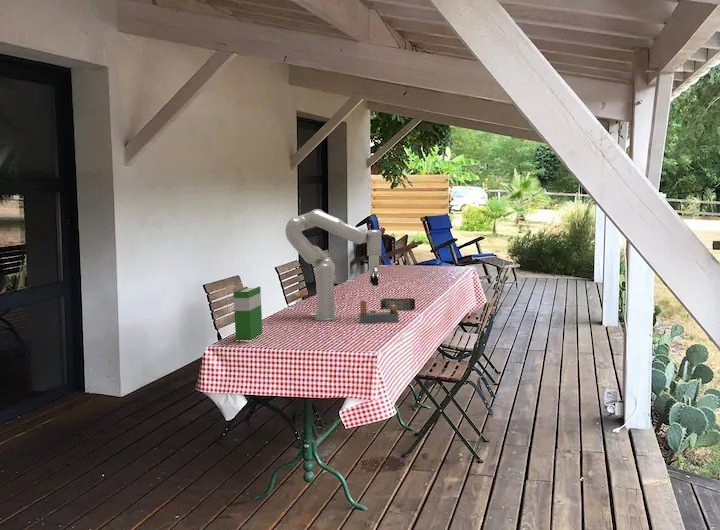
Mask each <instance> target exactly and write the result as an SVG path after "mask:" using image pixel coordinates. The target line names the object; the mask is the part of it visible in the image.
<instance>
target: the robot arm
mask: <svg viewBox="0 0 720 530" xmlns="http://www.w3.org/2000/svg"><path fill="white" fill-rule="evenodd" d="M314 227H318V228H320V229H323V230H325V231H327V232H329V233H331V234H333V235H335V236H338V237H340V238H342V239H344V240H347V241H349V242H351V243H354V244H355V245H356V244H357V245H362V244H363V243H365V244H366V245H367V247H366V252H367V253H366V255H367V257H368V269H367V270H368V274H369V275H370V277H369V283H370V284H371V285H372V286H373V287H375V286H376V287H378V286H379V273H380V257H381V256H382V231H381V230H379V229H361V228H360V229H358V228H356V227H354V226H352V225H349V224H347V223H346V222H344V221H343V220H342V219H340V218H339V217H336V216H333V215H332V214H328V213H326V212H325V211H323V210H322V209H321V208H320V209H319V208H316V209H313V210H311V211H309V212H306V213H304V214H300V215H297V216H293V217H291V218H290V219H288V221H287V224H286V227H285V237H286V239H287V241H288V242H289V244H290V245H291V246H292V247H293V248H294V249H295V250H296V252H297V253H298V254H299V255H300V256H301V258H302V259H303V260H304V261H305V262H306V263H307V264H311V265H312V266H313V267H314V268H315V270H314V276H315V286H316V288H315V289H316V311H314V312H311V311H310V312H308V316H310V317H314V320H315V321H319V322H320V321H321V322H327V321H335V320H338V318H339V316H338V315H336V310H335V309H336V307H335V282H334V274H335V271H336V265H335V263H334V261H332V259H331V258H329V257H328V254H326V253H325V252H324V251H323V249H321V247H320V246H317V245H313V244H312V243H311V242H310V241H309V239H308V238H307V237H306V236H305V235H304V234H303V233H302V232H303V231H305V230H308V229H312V228H314Z"/></svg>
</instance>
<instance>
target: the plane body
mask: <svg viewBox="0 0 720 530" xmlns="http://www.w3.org/2000/svg"><path fill="white" fill-rule="evenodd" d="M359 308H360V309H359V311H360V312H359V313H358V319H359V321H360V322H359V323H370V324H379V323H378V322H390V323H399V321H400V320H399V313H398V310H397V305H390V310H389V311H378V312H377V311H375V312H374V313H370V312H367V300H360V301H359Z"/></svg>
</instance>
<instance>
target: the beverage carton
mask: <svg viewBox="0 0 720 530" xmlns="http://www.w3.org/2000/svg"><path fill="white" fill-rule="evenodd" d="M390 305H397V311H412V309H413V310H415V309H416V299H415V298H411V297H406V298H395V297H394V298H389V297H386V298H381V299H380V310H381V309H390ZM414 308H415V309H414Z"/></svg>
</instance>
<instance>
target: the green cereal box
mask: <svg viewBox="0 0 720 530" xmlns="http://www.w3.org/2000/svg"><path fill="white" fill-rule="evenodd" d="M261 295H262V293H261V286H257V287H250V288H249V286H244V287H242V288H240V289H237V290H235V291H233V306H234V307H233V309H234V312H233V313H234V330H235V341H236V340H252V339H254V338H256V337H257V336H259V335H261V334H262V333H263V317H262V315H263V314H262V296H261ZM263 334H264V333H263Z"/></svg>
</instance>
